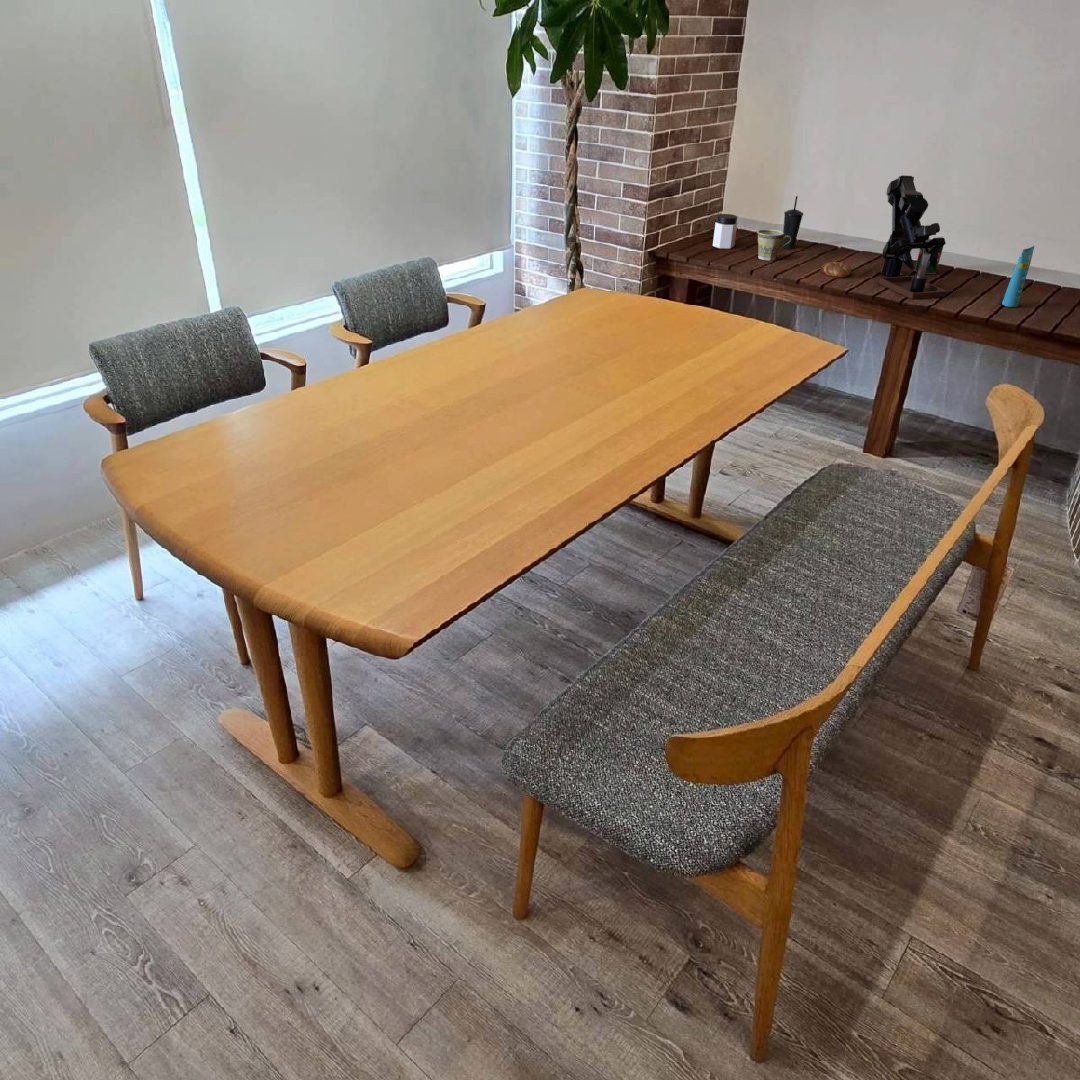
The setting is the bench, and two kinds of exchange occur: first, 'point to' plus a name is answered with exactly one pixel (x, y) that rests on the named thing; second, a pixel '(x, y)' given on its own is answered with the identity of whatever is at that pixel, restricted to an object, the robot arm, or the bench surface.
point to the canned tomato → (930, 268)
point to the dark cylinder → (920, 274)
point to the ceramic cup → (769, 243)
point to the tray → (904, 286)
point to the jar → (725, 231)
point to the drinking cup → (791, 226)
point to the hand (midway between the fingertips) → (923, 268)
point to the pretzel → (836, 269)
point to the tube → (1018, 278)
